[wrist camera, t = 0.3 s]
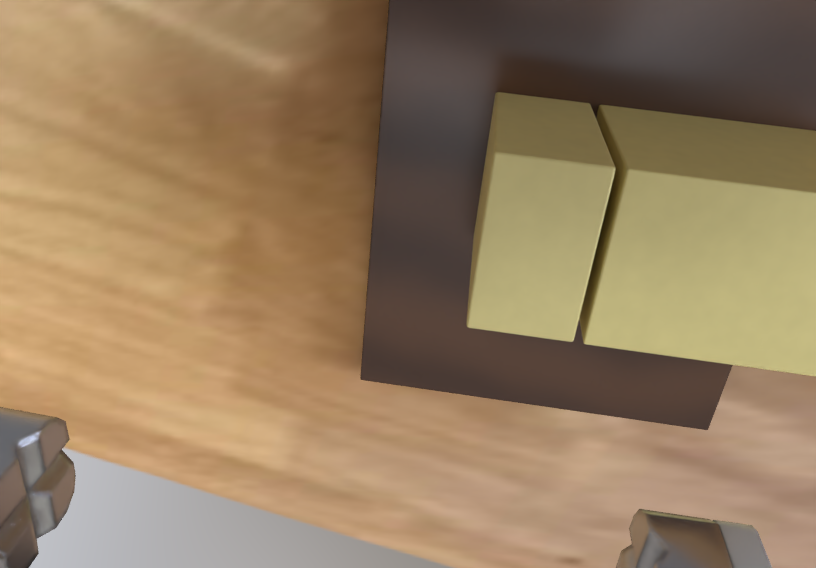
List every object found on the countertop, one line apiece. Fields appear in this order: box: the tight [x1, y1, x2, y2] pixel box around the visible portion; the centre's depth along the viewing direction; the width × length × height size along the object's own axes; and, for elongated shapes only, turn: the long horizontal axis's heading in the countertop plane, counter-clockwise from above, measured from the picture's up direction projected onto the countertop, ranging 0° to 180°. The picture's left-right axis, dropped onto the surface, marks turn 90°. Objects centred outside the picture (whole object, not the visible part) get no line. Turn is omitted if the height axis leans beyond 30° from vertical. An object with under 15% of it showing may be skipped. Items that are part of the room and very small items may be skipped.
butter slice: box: [466, 92, 616, 342], centre depth 25 cm, size 6×4×7 cm, turn 175°
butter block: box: [579, 105, 816, 377], centre depth 25 cm, size 6×8×7 cm
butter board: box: [361, 0, 816, 430], centre depth 29 cm, size 22×16×1 cm
